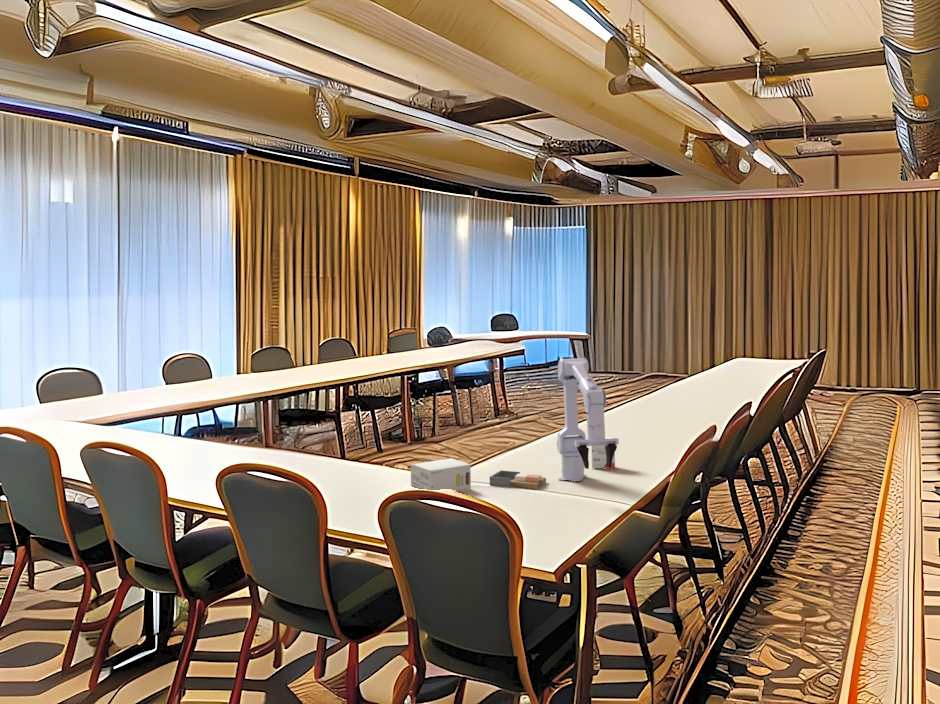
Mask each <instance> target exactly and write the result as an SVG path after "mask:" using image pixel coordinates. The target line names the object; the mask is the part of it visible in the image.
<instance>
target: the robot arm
mask: <svg viewBox="0 0 940 704" xmlns="http://www.w3.org/2000/svg"><path fill="white" fill-rule="evenodd" d="M589 368H590V366H589V361H588V359H587V358H586V357H582V358H560V359H559V360H558V363H557V378H558V381H560V382H561V383H562V385H563V386H562V387H563V402H564V403H563V405H564V406H563V407H564V408H563V409H564V427H563V428H562V429H561V430H559V432H558V433H557V439H556V440H557V441H556V448H557V453H559V454H560V455H561V476H560V477H558V479H557V480H558V481H564V480H569V481H568V482H576V481H580V480H581V481H582V480H584V479H585V478H586V477H587V474H585V469H587V470H588V469H590V468H589V467H590V463H589V452H590V451H589V450H590V448H589V447H590V446H591V447H592V446H595V445H606V446H605V450H606V463H607V467H611V464H612V459H613V456H614V453H616V450H617V448H618V445H619V444H620V443H619V440H620V439H619V438H616V437H614V438H613V439H605V437H606V425H605V406H606V404H607V395H606V394H607V393H606V391H605V389H604V388H600V387H599V386H598V384H597V383H596V381H595V379H594V378H593V377H591V376H589V374H588V373H589ZM577 386H578V387H577ZM578 389H579V391H580V392H581V394H582V396H583V398H582V402H583V405H584V413H586V429H587V431H586V432H587V436H586V433H585V431H584V430H582V429H581V428H580V427H579V413H578V412H579V411H578V409H579V408H578V407H579V405H578ZM586 437H587V438H586ZM597 442H601V443H602V444H592V443H597ZM584 477H585V478H584ZM583 478H584V479H583ZM570 480H571V481H570ZM581 481H580V482H581Z"/></svg>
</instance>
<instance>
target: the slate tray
mask: <svg viewBox="0 0 940 704" xmlns="http://www.w3.org/2000/svg"><path fill="white" fill-rule="evenodd" d="M517 474H521V471H511V470H499V471H498V472H497V471H496V473H493V474H491V475H490V476H489V485H490V486H495V487H505V488H506V487H507V488H511V487H510V481H512V480H513V479H515V476H516V475H517Z"/></svg>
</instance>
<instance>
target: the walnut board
mask: <svg viewBox="0 0 940 704" xmlns="http://www.w3.org/2000/svg"><path fill="white" fill-rule="evenodd" d="M546 483H547V478H546V477H542V476H541V481H539V482H527V481H515V479H513V480H512V481H510V487H509V488H518V489H530V490H537V489H539V488H541V487H542V486H544V485H545V484H546ZM543 484H544V485H543ZM540 486H541V487H540Z"/></svg>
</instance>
